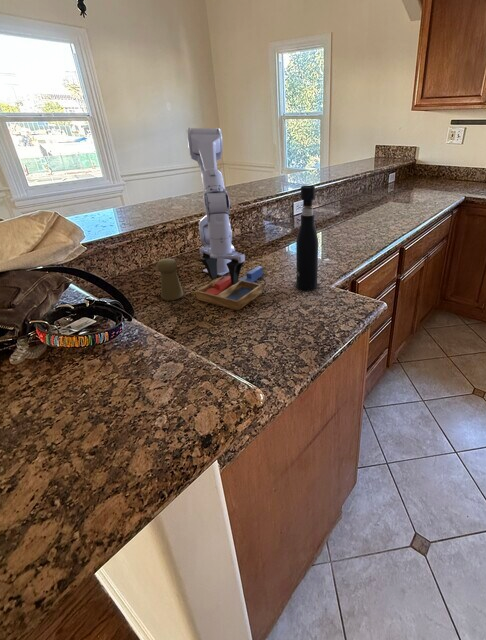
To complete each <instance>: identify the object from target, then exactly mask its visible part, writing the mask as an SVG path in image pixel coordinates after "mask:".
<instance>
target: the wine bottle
mask: <svg viewBox="0 0 486 640" xmlns="http://www.w3.org/2000/svg"><path fill="white" fill-rule="evenodd" d="M315 199H316V186H314V185H301V186H300V200H302V203H303V204H302V208H301V215H300V226H299V229H298V231H297V236H296V241H295V242H296V243H295V246H296V248H295V249H296V250H295V251H296V253H295V255H296V259H295V260H296V269H295V271H296V288H297V290H300V291H306V292H311V291H313V290H316V289H317V288H318V271H319V270H318V269H319V268H318V264H319V238H318V232H317V229H316V227H315V214H314V208H313V200H315Z"/></svg>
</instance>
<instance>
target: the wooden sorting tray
mask: <svg viewBox="0 0 486 640" xmlns="http://www.w3.org/2000/svg"><path fill="white" fill-rule="evenodd" d="M225 277H227V275H222V276H220V277H217V278H215V279H213V280H212V281H211V282H208V283H207V284H205V285H204V286H202V287H200V288H198V289H197V290H195V298H196V300H197V301H202V302H206V303H208V304H212V305H215V306H216V305H217V306H220V307H224V308H228V309H231V310H234V311H240V310H241V309H243V307H245V306H247V305H248V304H249V303H250V302H252V301H253V300H255V299H256V298H257V297H259V296H261V294H262V293H264V292H263V284H261V283H256V282H253V283H252V282H248V281H243V280H239V279H240V278H238V283H236V284H235V285H232V286H231V287H229V288H227V289H226V290H224V291H223V292H221V293H219V294H218V295H213V294H209V293H205V291H206V290H208V289H210V288H215V286H214V283H216V282H218V281H220V280H221V279H223V278H225Z"/></svg>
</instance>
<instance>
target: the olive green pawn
mask: <svg viewBox="0 0 486 640" xmlns="http://www.w3.org/2000/svg"><path fill="white" fill-rule="evenodd" d="M156 267H157V271H158V272H160V295H161V299H162V300H164V301H174V300H178V299H181V298H182V297H183V296H184V290H183V287H182V285H181V281H180V279H179V276H178V272H177V269H178V262H177V261H176V260H175V259H173V258H163V259H162V258H161V259H160V260H159V261H157V264H156Z"/></svg>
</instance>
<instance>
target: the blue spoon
mask: <svg viewBox="0 0 486 640" xmlns="http://www.w3.org/2000/svg"><path fill="white" fill-rule="evenodd" d="M263 272H264V271H263V266H260V265H257V266H255V267H254V268H252V269H251V270H248V271H247V272H246V276H243V277H239V278H238V279H239V280H243V281H248V282H252V283H254V282H255V281H256V280H258V279H260V278H261V277H263Z"/></svg>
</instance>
